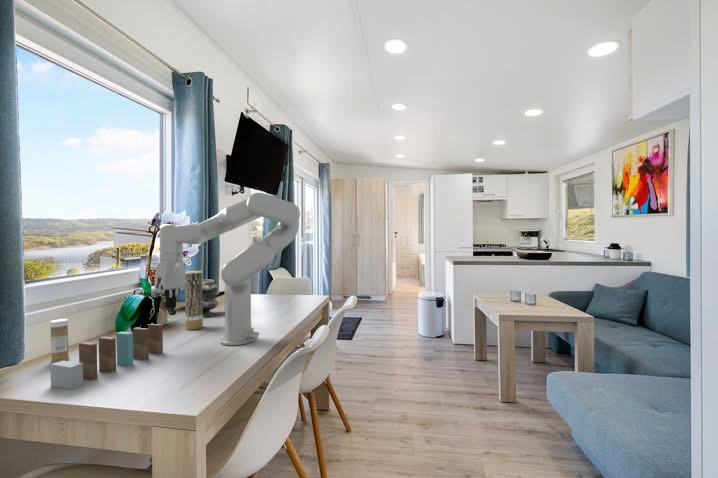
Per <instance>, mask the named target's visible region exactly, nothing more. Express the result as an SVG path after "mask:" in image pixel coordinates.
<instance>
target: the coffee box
mask: <svg viewBox="0 0 718 478" xmlns="http://www.w3.org/2000/svg"><path fill="white" fill-rule="evenodd" d="M151 290H152V292H150V294H151V296H152V297H154V298H156V297H158V296H159V295H160V294H161V293H157V291H158V289H151ZM143 292H144V291H141V292H139V295H140V294H143ZM157 324H162V326H164V325H167V324H168V308H166V297H162V298H161V304H160V309H159V315H158V320H157Z"/></svg>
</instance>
